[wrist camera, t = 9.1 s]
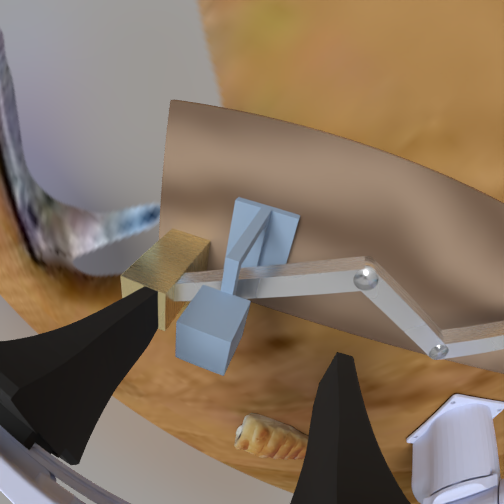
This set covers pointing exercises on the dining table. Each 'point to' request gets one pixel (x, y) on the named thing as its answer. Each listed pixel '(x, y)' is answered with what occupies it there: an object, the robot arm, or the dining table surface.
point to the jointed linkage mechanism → (299, 291)
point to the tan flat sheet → (340, 218)
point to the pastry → (270, 438)
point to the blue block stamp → (233, 285)
